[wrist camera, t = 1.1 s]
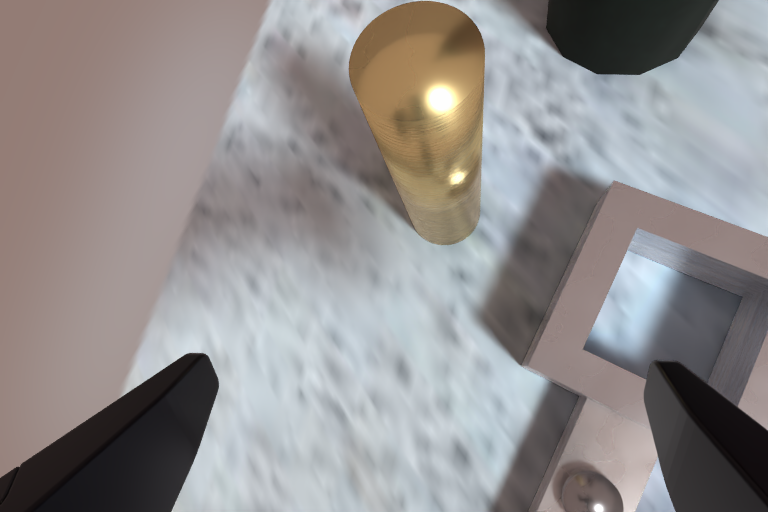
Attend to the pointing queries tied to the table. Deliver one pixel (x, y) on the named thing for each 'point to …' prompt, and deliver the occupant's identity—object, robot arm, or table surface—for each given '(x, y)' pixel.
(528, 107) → the table surface
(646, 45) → the wine bottle
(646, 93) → the table surface
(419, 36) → the gold metal cylinder
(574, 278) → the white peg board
